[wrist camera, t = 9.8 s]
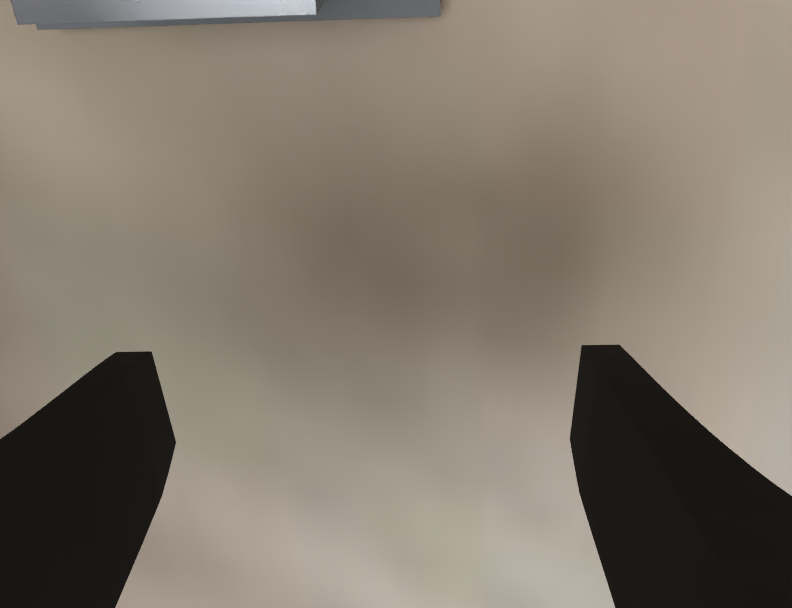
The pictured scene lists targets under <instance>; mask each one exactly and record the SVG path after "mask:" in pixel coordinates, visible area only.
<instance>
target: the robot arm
mask: <svg viewBox="0 0 792 608" xmlns="http://www.w3.org/2000/svg"><path fill="white" fill-rule="evenodd" d="M570 442H571V448H572V454H573V460H574V466H575V471H576V477H577V482H578V487H579V493H580V496H581V499H582V503H583V506H584V509H585V512H586V516H587V519H588V522H589V525H590V529H591V532H592V535H593V538H594V541H595V545H596V548H597V551H598V554H599V557H600V560H601V563H602V567H603V570H604V573H605V576H606V579H607V582H608V586H609V589H610V592H611V595H612V598H613V601H614V605H615V608H792V496H791V495H789V494H788V493H786V492H785V491H784V490H782V489H781V488H779V487H778V486H777V485H775V484H774V483H772V482H771V481H770V480H768V479H767V478H766V477H764V476H763V475H762V474H760V473H759V472H758V471H757V470H755V469H754V468H753V467H751V466H750V465H749V464H748V463H747V462H745V461H744V460H743V459H742V458H740V457H739V456H738V455H737V454H736V453H734V452H733V451H732V450H731V449H729V448H728V447H727V446H726V445H725V444H723V443H722V442H721V441H720V440H719V439H717V438H716V437H715V436H714V435H713V434H712V433H711V432H709V431H708V430H707V429H706V428H705V427H704V426H703V425H702V424H700V423H699V422H698V421H697V420H696V419H695V418H694V417H693V416H692V415H691V414H690V413H688V412H687V411H686V410H685V409H684V408H683V407H682V406H681V405H680V404H679V403H678V402H677V401H676V400H675V399H674V398H672V397H671V396H670V395H669V394H668V393H667V392H666V391H665V390H664V389H663V388H662V387H661V386H660V385H659V384H658V383H657V382H656V381H655V380H654V379H653V378H652V377H651V376H650V375H649V374H648V373H647V372H646V371H645V370H644V369H643V368H642V367H641V366H640V365H639V364H638V363H637V362H636V361H635V360H634V359H633V358H632V357H631V356H630V355H629V354H628V353H627V352H626V351H625V350H624V349H623V348H622V347H621V346H620V345H582V347H581V355H580V363H579V371H578V379H577V387H576V395H575V403H574V410H573V418H572V426H571V434H570ZM175 444H176V441H175V437H174V433H173V429H172V426H171V422H170V418H169V415H168V411H167V407H166V404H165V400H164V396H163V392H162V389H161V385H160V381H159V378H158V374H157V370H156V366H155V363H154V359H153V355H152V352H116V353H114V354H113V355H111V356H110V357H108V358H107V359H105V360H104V361H103V362H101V363H100V364H99V365H97V366H96V367H95V368H93V369H92V370H91V371H89V372H88V373H87V374H86V375H84V376H83V377H82V378H80V379H79V380H78V381H76V382H75V383H74V384H73V385H71V386H70V387H69V388H68V389H66V390H65V391H64V392H62V393H61V394H60V395H59V396H57V397H56V398H55V399H53V400H52V401H51V402H49V403H48V404H47V405H46V406H44V407H43V408H42V409H40V410H39V411H38V412H36V413H35V414H34V415H33V416H31V417H30V418H29V419H27V420H26V421H25V422H23V423H22V424H21V425H19V426H18V427H17V428H15V429H14V430H13V431H11V432H10V433H8V434H7V435H6V436H4V437H3V438H1V439H0V608H115V607H116V604H117V602H118V600H119V597H120V595H121V593H122V590H123V588H124V585H125V583H126V581H127V578H128V576H129V574H130V571H131V569H132V567H133V564H134V562H135V559H136V557H137V555H138V552H139V550H140V548H141V545H142V543H143V541H144V538H145V536H146V533H147V531H148V529H149V526H150V524H151V521H152V519H153V516H154V514H155V512H156V509H157V507H158V504H159V502H160V499H161V497H162V494H163V490H164V486H165V483H166V479H167V476H168V472H169V468H170V464H171V460H172V456H173V452H174V448H175Z"/></svg>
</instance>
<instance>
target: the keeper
mask: <svg viewBox="0 0 792 608" xmlns="http://www.w3.org/2000/svg"><path fill="white" fill-rule="evenodd" d="M433 16H440V0H326V1H325V2H324V4H323V5H322V7H321V8H320V10H319V11H318V13H317V14H313V15H284V16H254V17H225V18H196V19H166V20H137V21H108V22H78V23H49V24H36V26H37V30H45V29H75V28H105V27H134V26H164V25H194V24H224V23H254V22H284V21H314V20H344V19H373V18H403V17H433Z"/></svg>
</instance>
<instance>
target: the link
mask: <svg viewBox="0 0 792 608" xmlns="http://www.w3.org/2000/svg"><path fill="white" fill-rule="evenodd" d="M10 1H11V4H12V7H13V11H14V14H15V17H16V21H17V24H18V25H19V24H49V23H78V22H108V21H137V20H166V19H196V18H225V17H254V16H284V15H313V14H317V13H318V11H319V10H320V8H321V7H322V5H323V4H324V2H325V1H326V0H10Z"/></svg>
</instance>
